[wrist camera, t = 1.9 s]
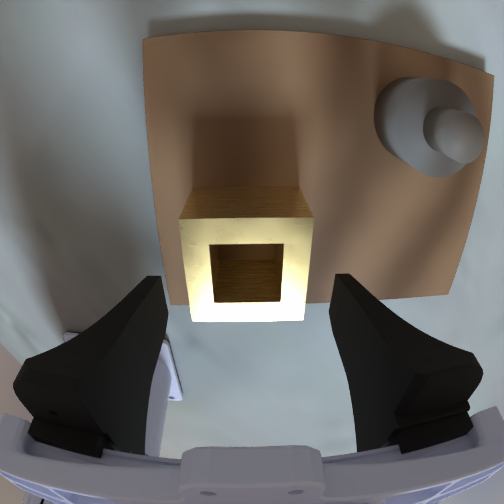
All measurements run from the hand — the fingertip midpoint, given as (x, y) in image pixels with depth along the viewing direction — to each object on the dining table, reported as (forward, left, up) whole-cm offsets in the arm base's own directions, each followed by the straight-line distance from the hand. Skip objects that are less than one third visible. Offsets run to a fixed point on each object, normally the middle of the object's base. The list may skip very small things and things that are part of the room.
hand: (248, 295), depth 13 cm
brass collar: (0, 0, -6) cm, 6 cm away
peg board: (+5, +3, -7) cm, 9 cm away
